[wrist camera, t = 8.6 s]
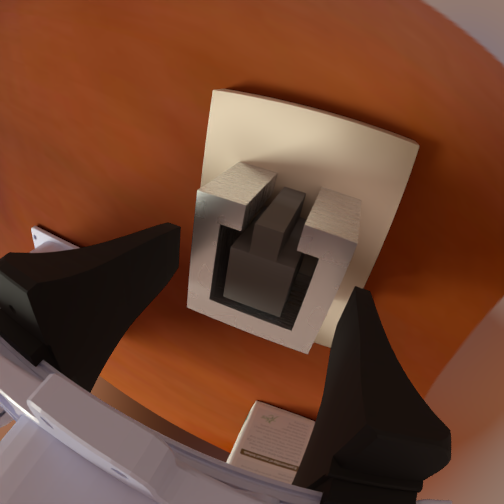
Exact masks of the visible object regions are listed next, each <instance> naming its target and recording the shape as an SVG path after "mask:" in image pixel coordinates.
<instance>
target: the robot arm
mask: <svg viewBox="0 0 504 504" xmlns="http://www.w3.org/2000/svg"><path fill="white" fill-rule="evenodd" d="M180 230H181V227H180V226H177V225H174V224H171V223H164V224H160V225H157V226H154V227H151V228H148V229H145V230H142V231H139V232H136V233H133V234H130V235H127V236H124V237H120V238H117V239H114V240H111V241H107V242H104V243H100V244H96V245H92V246H87V247H83V248H79V247H77V246H75V245H73V244H71V243H69V242H67V241H65V240H63V239H61V238H59V237H57V236H55V235H53V234H51V233H49V232H47V231H45V230H43V229H41V228H39V227H37V226H34V227H32V229H31V231H32V236H33V241H34V245H35V249H34V250H32V251H31V252H29V253H12V252H10V253H8V254H6V255H5V256H4V257H2V258H1V259H0V427H3V426H5V425H7V424H8V423H10V422H11V421H12V420H15V421H16V423H15V424H14V426H13V427H12V428H11V429H10V430H9V432H8V433H7V434H6V435H5V437H4V438H3V439H2V440H1V441H0V504H452V501H450V500H432V499H423V500H418V501H416V497H417V492H418V493H419V492H421V490H422V487H423V480H425V479H427V478H428V477H430V476H432V475H433V474H435V473H437V472H438V471H440V470H441V469H443V468H444V467H445V466H446V465H447V464H448V463H449V461H450V460H451V433H450V430H449V428H448V427H447V426H445V424H444V423H443V422H442V421H441V420H440V419H439V418H438V417H437V416H436V415H435V414H434V412H433V411H432V410H431V409H430V407H429V406H428V405H427V404H426V402H425V401H424V400H423V399H422V397H421V396H420V395H419V393H418V392H417V391H416V389H415V388H414V386H413V385H412V383H411V382H410V380H409V379H408V377H407V375H406V374H405V372H404V370H403V369H402V367H401V365H400V363H399V361H398V360H397V358H396V356H395V354H394V352H393V350H392V348H391V345H390V343H389V341H388V339H387V336H386V334H385V331H384V329H383V326H382V324H381V321H380V318H379V316H378V313H377V310H376V307H375V304H374V301H373V298H372V295H371V293H370V291H368V290H366V289H363V288H360V287H357V286H355V287H354V289H353V291H352V293H351V296H350V298H349V300H348V302H347V304H346V306H345V308H344V310H343V313H342V315H341V317H340V319H339V321H338V323H337V326H336V330H335V333H334V337H333V341H332V344H331V350H330V356H329V363H328V369H327V375H326V381H325V387H324V393H323V397H322V402H321V405H320V409H319V412H318V415H317V418H316V422H315V425H314V428H313V431H312V433H311V436H310V439H309V442H308V445H307V447H306V450H305V453H304V455H303V458H302V461H301V463H300V466H299V468H298V470H297V473H296V475H295V477H294V480H293V482H292V484H288V483H284V482H281V481H277V480H274V479H271V478H268V477H265V476H262V475H259V474H256V473H253V472H250V471H247V470H244V469H241V468H239V467H236V466H233V465H231V464H228V463H225V462H223V461H220V460H218V459H215V458H213V457H210V456H208V455H206V454H203V453H200V452H199V451H196V450H194V449H192V448H189V447H187V446H185V445H183V444H181V443H179V442H177V441H174V440H172V439H170V438H168V437H166V436H164V435H162V434H160V433H158V432H156V431H154V430H152V429H151V428H149V427H147V426H145V425H143V424H141V423H139V422H138V421H136V420H134V419H132V418H130V417H129V416H126V415H125V414H123V413H122V412H120V411H118V410H117V409H115V408H113V407H111V406H110V405H108V404H107V403H105V402H103V401H102V400H100V399H99V398H97V397H96V396H94V395H92V394H91V393H90V392H91V390H92V388H93V386H94V384H95V382H96V380H97V378H98V376H99V374H100V373H101V371H102V369H103V367H104V366H105V364H106V362H107V360H108V358H109V357H110V355H111V354H112V352H113V350H114V349H115V347H116V346H117V344H118V343H119V341H120V340H121V338H122V337H123V335H124V334H125V332H126V331H127V330H128V328H129V327H130V325H131V324H132V323H133V322H134V320H135V319H136V318H137V317H138V316H139V315H140V314H141V313H142V311H143V310H144V309H145V308H146V307H147V306H148V305H149V304H150V303H151V302H152V300H153V299H154V298H155V297H156V296H157V295H158V294H159V293H160V292H161V291H162V289H163V288H164V287H165V286H166V285H167V283H168V282H169V281H170V279H171V278H172V276H173V275H174V273H175V272H176V270H177V269H178V267H179V248H180Z"/></svg>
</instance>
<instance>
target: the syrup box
mask: <svg viewBox="0 0 504 504" xmlns="http://www.w3.org/2000/svg"><path fill="white" fill-rule="evenodd" d="M314 425H315V421H313V420H310V419H307V418H305V417H302V416H300V415H297V414H294V413H291V412H288V411H286V410H283V409H280V408H277V407H274V406H271V405H268V404H265V403H263V402H260V401H256V402H255V403H254V405H253V406H252V408H251V410H250V412H249V414H248V416H247V418H246V420H245V422H244V424H243V426H242V429H241V431H240V433H239V435H238V438H237V440H236V442H235V444H234V447H233V449H232V451H231V453H230V456H229V458H228V460H227V462H226V463H228V464H231V465H233V466H236V467H239V468H241V469H244V470H247V471H250V472H253V473H256V474H259V475H262V476H265V477H268V478H271V479H274V480H277V481H281V482H284V483H288V484H292V482H293V480H294V477H295V475H296V473H297V470H298V468H299V466H300V463H301V461H302V458H303V455H304V453H305V450H306V447H307V445H308V442H309V439H310V436H311V433H312V431H313V428H314Z"/></svg>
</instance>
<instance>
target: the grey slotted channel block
mask: <svg viewBox="0 0 504 504" xmlns="http://www.w3.org/2000/svg"><path fill="white" fill-rule="evenodd" d="M277 174H278V172H274V171H271V170H268V169H264V168H261V167H257V166H254V165H250V164H247V163H243V162H238V163H237V164H235V165H234V166H232V167H231V168H229V169H228V170H226V171H225V172H223V173H222V174H220V175H219V176H217V177H216V178H214V179H213V180H211V181H210V182H209V183H207V184H206V185H204V186H203V187H201V188H200V189H198V190H197V198H196V207H195V217H194V227H193V237H192V248H191V259H190V272H189V285H188V299H187V308H190V309H192V310H194V311H197V312H199V313H202V314H204V315H206V316H209V317H211V318H214V319H216V320H218V321H221V322H223V323H226V324H228V325H231V326H233V327H236V328H238V329H241V330H243V331H246V332H249V333H251V334H254V335H256V336H259V337H262V338H264V339H267V340H270V341H272V342H275V343H278V344H280V345H283V346H286V347H289V348H291V349H294V350H297V351H300V352H303V353H305V354H308V352H309V350H310V348H311V346H312V344H313V342H314V340H315V338H316V336H317V334H318V332H319V330H320V328H321V326H322V324H323V322H324V319H325V317H326V315H327V313H328V311H329V309H330V306H331V304H332V302H333V300H334V298H335V295H336V293H337V291H338V289H339V286H340V284H341V282H342V280H343V277H344V275H345V273H346V270H347V268H348V266H349V263H350V261H351V258H352V256H353V254H354V251H355V249H356V246H357V244H358V235H359V225H360V213H361V200H360V199H357V198H354V197H351V196H348V195H346V194H343V193H340V192H337V191H334V190H331V189H328V188H325V187H321V190H320V192H319V194H318V196H317V198H316V201H315V203H314V205H313V207H312V209H311V212H310V214H309V216H308V218H307V220H306V222H305V225H304V228H303V231H302V235H301V238H300V241H299V244H298V248H297V251H300V252H302V253H305V254H308V255H311V256H314V257H317V260H316V263H315V266H314V269H313V272H312V274H311V276H308V275H305V274H302V273H300V272H298V274H297V277H296V279H295V282H294V284H293V286H292V289H291V291H290V294H289V296H288V299H287V301H286V304H285V306H284V308H283V311H282V313H281V316H280V317H277V316H275V315H272V314H269V313H266V312H264V311H261V310H258V309H255V308H253V307H250V306H247V305H244V304H242V303H239V302H236V301H234V300H231V299H229V298H226V297H223V294H224V288H225V281H226V274H227V268H228V262H229V255H230V249H231V246H232V245H233V244H234V242H235V241H236V240H237V239H238V237H239V236H240V235H241V234H242V233H243V231H244V230H245V229H246V228H247V226H248V225H249V222H250V220H251V219H252V217H253V216H254V215H255V214H256V213H257V212H258V210H259V209H260V208H261V207H262V206H263V204H264V203H265V202H266V201H267V200H268V198H269V197H270V196H271V195H272V194H273V191H274V187H275V183H276V179H277Z"/></svg>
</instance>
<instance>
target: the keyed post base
mask: <svg viewBox="0 0 504 504" xmlns="http://www.w3.org/2000/svg"><path fill="white" fill-rule="evenodd" d="M418 149H419V145H418V143H417V142H416V141H414V140H412V139H409V138H406V137H404V136H401V135H398V134H396V133H393V132H390V131H387V130H385V129H382V128H379V127H376V126H373V125H370V124H367V123H364V122H361V121H358V120H354V119H351V118H348V117H345V116H341V115H338V114H334V113H331V112H327V111H324V110H320V109H316V108H313V107H309V106H305V105H301V104H297V103H293V102H289V101H284V100H280V99H275V98H271V97H266V96H261V95H256V94H251V93H246V92H240V91H234V90H229V89H217V90H213V94H212V101H211V107H210V115H209V122H208V129H207V137H206V145H205V153H204V161H203V170H202V178H201V187H203V186H204V185H206V184H207V183H209V182H210V181H211V180H213V179H214V178H216V177H217V176H219V175H220V174H222V173H223V172H225V171H226V170H228V169H229V168H231V167H232V166H234V165H235V164H237V163H238V162H243V163H247V164H250V165H254V166H257V167H261V168H264V169H268V170H271V171H274V172H278V174H277V179H276V183H275V187H274V191H273V194H272V195H271V196H270V197H269V198H268V200H267V201H266V202H265V203H264V204H263V206H262V207H261V208H260V209H259V210H258V212H257V213H256V214H255V215H254V216H253V217H252V219H251V220H250V222H249V225H248V226H247V228H246V229H245V230H244V231H243V233H242V234H241V235H240V236H239V237H238V239H237V240H236V241H235V242H234V244H233V245H232V246H231V249H230V255H229V262H228V268H227V274H226V281H225V288H224V294H223V297H226V298H229V299H231V300H234V301H236V302H239V303H242V304H244V305H247V306H250V307H253V308H255V309H258V310H261V311H264V312H266V313H269V314H272V315H275V316H277V317H280V316H281V313H282V311H283V308H284V306H285V304H286V301H287V299H288V296H289V294H290V291H291V289H292V286H293V284H294V282H295V279H296V277H297V274H298V272H300V273H302V274H305V275H308V276H311V274H312V272H313V269H314V266H315V263H316V260H317V257H314V256H311V255H308V254H305V253H302V252H300V251H297V248H298V244H299V241H300V238H301V235H302V231H303V228H304V225H305V222H306V220H307V218H308V216H309V214H310V212H311V209H312V207H313V205H314V203H315V201H316V198H317V196H318V194H319V192H320V190H321V187H325V188H328V189H331V190H334V191H337V192H340V193H343V194H346V195H348V196H351V197H354V198H357V199H360V200H361V213H360V225H359V235H358V244H357V246H356V249H355V251H354V254H353V256H352V258H351V261H350V263H349V266H348V268H347V270H346V273H345V275H344V277H343V280H342V282H341V284H340V286H339V289H338V291H337V293H336V295H335V298H334V300H333V302H332V304H331V306H330V309H329V311H328V313H327V315H326V317H325V319H324V322H323V324H322V326H321V328H320V330H319V332H318V334H317V336H316V338H315V340H314V343H317V344H320V345H323V346H326V347H329V348H331V344H332V341H333V337H334V333H335V330H336V326H337V323H338V321H339V319H340V317H341V315H342V313H343V310H344V308H345V306H346V304H347V302H348V300H349V298H350V296H351V293H352V291H353V289H354V287H355V286H357V287H360V288H364V286H365V284H366V281H367V279H368V277H369V275H370V273H371V270H372V268H373V266H374V264H375V261H376V259H377V257H378V255H379V252H380V250H381V248H382V245H383V243H384V241H385V238H386V236H387V233H388V231H389V229H390V226H391V224H392V221H393V219H394V216H395V214H396V211H397V208H398V206H399V203H400V201H401V198H402V195H403V192H404V190H405V187H406V184H407V181H408V179H409V176H410V173H411V170H412V167H413V164H414V161H415V158H416V155H417V152H418Z"/></svg>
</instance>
